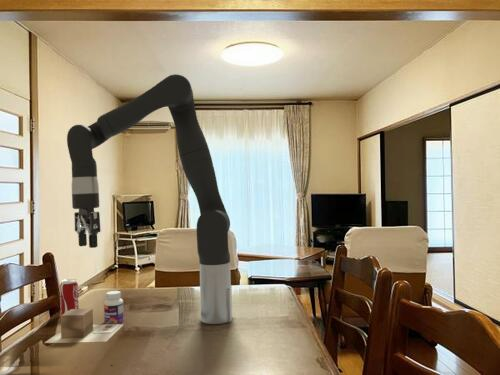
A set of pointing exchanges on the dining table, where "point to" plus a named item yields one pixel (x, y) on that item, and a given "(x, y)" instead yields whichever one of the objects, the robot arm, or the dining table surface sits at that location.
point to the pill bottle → (113, 308)
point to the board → (89, 338)
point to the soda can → (68, 295)
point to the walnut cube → (76, 323)
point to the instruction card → (106, 328)
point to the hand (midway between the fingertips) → (88, 246)
